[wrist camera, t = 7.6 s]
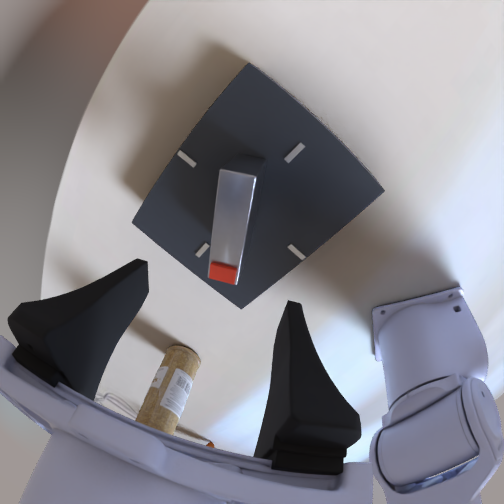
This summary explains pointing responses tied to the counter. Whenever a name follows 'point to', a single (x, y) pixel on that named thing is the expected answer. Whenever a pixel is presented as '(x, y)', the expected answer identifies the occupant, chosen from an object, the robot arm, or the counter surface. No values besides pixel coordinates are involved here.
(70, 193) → the counter surface
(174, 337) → the counter surface
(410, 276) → the counter surface
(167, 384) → the sprinkles bottle
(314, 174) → the base
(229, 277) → the tap handle
